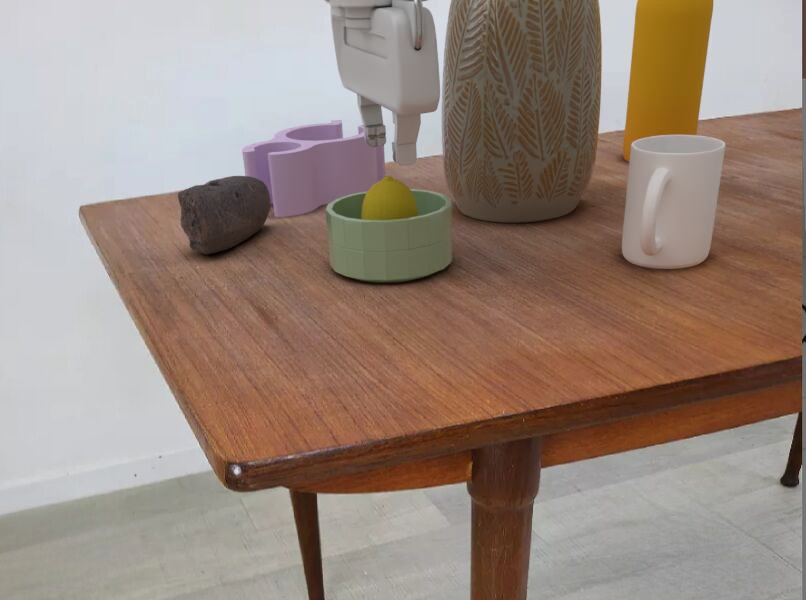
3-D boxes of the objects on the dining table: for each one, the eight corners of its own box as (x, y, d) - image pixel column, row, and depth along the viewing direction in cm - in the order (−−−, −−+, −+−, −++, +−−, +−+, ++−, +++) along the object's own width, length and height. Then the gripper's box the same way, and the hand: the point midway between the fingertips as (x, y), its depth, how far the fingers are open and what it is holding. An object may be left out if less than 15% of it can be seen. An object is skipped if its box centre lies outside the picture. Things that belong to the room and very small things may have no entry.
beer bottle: (607, 160, 126) (628, -105, 110) (652, 148, 131) (679, -108, 114) (662, 170, 120) (694, -109, 104) (708, 158, 124) (745, -112, 108)
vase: (449, 233, 102) (447, -66, 87) (436, 194, 116) (432, -69, 101) (608, 223, 102) (634, -77, 87) (575, 185, 116) (593, -79, 101)
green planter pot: (429, 242, 100) (428, 183, 96) (469, 276, 90) (470, 211, 86) (319, 257, 97) (313, 197, 94) (348, 294, 88) (343, 228, 84)
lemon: (376, 250, 96) (371, 168, 92) (427, 254, 94) (425, 169, 90) (355, 267, 92) (349, 181, 87) (408, 271, 90) (405, 183, 86)
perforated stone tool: (253, 222, 110) (245, 159, 106) (291, 227, 107) (284, 162, 103) (170, 260, 99) (158, 191, 95) (210, 266, 97) (200, 195, 93)
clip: (304, 221, 109) (298, 157, 105) (225, 209, 115) (217, 149, 111) (402, 182, 122) (400, 124, 118) (326, 173, 128) (322, 118, 124)
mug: (683, 287, 84) (700, 165, 78) (595, 276, 88) (604, 159, 82) (718, 249, 93) (735, 136, 87) (636, 241, 96) (647, 132, 90)
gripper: (457, -20, 72) (460, 171, 80) (382, -27, 88) (391, 132, 96) (378, -13, 71) (389, 181, 78) (316, -21, 87) (331, 140, 95)
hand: (389, 154), depth 87 cm, fingers open, 8 cm apart
